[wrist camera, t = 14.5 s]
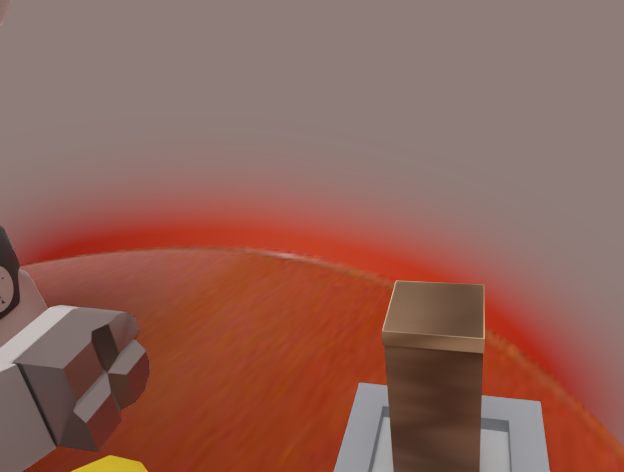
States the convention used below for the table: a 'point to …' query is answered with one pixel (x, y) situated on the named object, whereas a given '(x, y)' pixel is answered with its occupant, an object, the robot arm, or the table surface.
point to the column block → (435, 375)
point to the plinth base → (493, 442)
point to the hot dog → (113, 465)
